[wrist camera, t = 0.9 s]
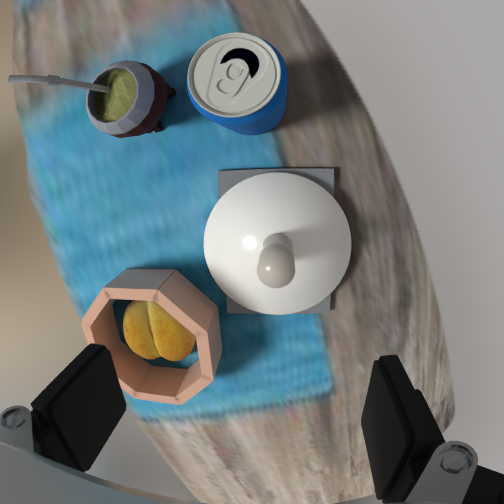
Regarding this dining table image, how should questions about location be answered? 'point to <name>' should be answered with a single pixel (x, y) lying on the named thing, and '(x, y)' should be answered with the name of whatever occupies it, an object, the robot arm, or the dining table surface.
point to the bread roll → (155, 332)
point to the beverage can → (239, 83)
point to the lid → (277, 243)
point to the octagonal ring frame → (177, 305)
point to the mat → (234, 177)
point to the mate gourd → (119, 97)
